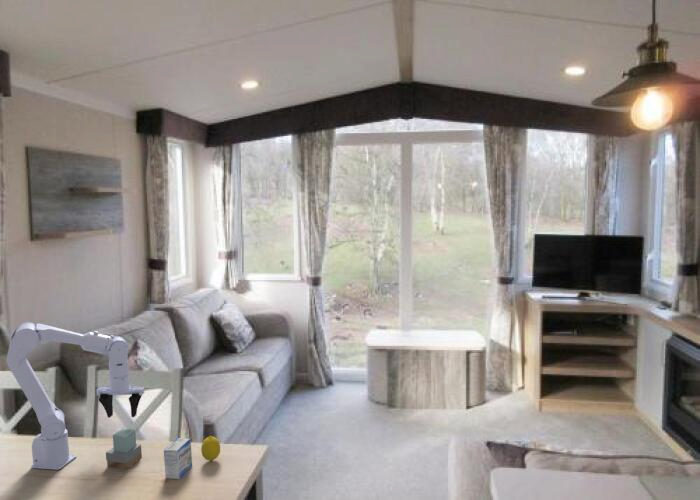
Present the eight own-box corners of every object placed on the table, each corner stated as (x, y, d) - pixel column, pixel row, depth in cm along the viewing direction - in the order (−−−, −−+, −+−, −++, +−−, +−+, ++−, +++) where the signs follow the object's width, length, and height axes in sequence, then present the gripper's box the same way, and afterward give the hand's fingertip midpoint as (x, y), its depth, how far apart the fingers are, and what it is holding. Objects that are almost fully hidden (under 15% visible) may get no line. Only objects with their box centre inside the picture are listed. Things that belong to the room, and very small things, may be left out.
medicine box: (179, 479, 150) (177, 451, 149) (164, 478, 151) (163, 449, 150) (192, 465, 158) (191, 438, 157) (179, 464, 159) (177, 437, 158)
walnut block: (107, 468, 158) (107, 461, 158) (121, 457, 165) (120, 449, 165) (129, 470, 157) (128, 462, 157) (141, 458, 164) (141, 451, 163)
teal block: (113, 451, 159) (112, 435, 158) (123, 444, 163) (122, 428, 162) (126, 452, 158) (125, 436, 157) (136, 445, 162) (135, 430, 161)
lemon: (198, 464, 159) (196, 438, 158) (209, 455, 164) (208, 430, 163) (213, 467, 157) (212, 441, 156) (224, 458, 162) (223, 433, 161)
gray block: (106, 460, 158) (105, 452, 158) (122, 449, 165) (122, 441, 164) (125, 463, 156) (125, 455, 156) (141, 452, 163) (141, 444, 162)
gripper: (90, 380, 164) (93, 421, 165) (137, 379, 164) (139, 421, 165) (101, 372, 171) (104, 412, 172) (145, 371, 171) (148, 411, 172)
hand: (122, 416), depth 169 cm, fingers open, 7 cm apart
